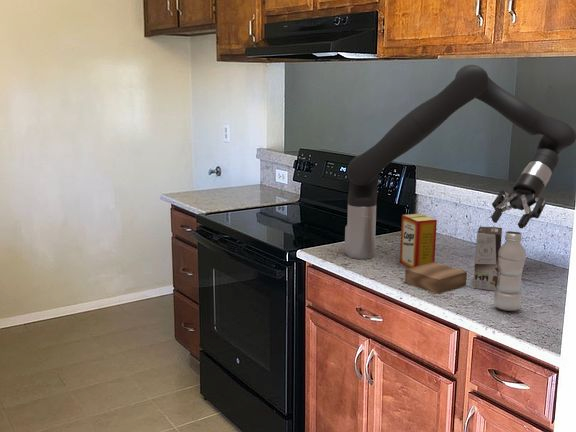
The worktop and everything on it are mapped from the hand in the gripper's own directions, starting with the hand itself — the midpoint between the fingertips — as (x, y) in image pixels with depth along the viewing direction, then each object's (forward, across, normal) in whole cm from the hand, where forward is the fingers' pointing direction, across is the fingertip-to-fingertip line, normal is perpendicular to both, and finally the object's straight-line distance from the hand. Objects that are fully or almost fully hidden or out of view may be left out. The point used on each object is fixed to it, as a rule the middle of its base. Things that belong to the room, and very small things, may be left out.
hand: (506, 223), depth 177 cm
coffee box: (+18, 0, +6) cm, 19 cm away
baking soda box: (+19, -24, +5) cm, 31 cm away
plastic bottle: (+26, +15, -2) cm, 30 cm away
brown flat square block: (+25, -9, -2) cm, 27 cm away
